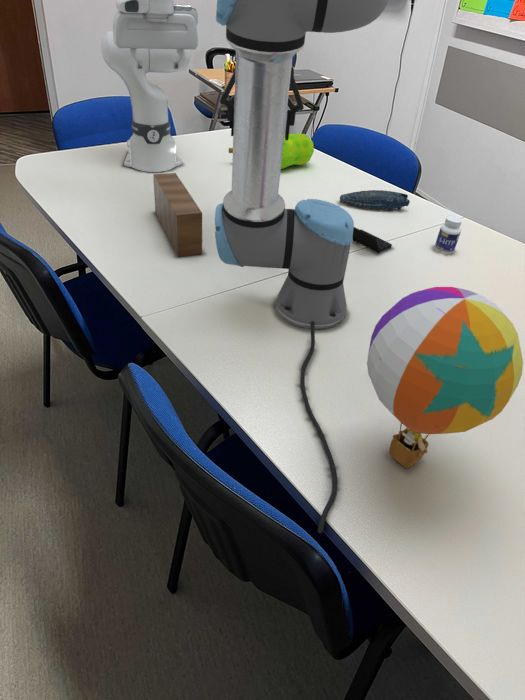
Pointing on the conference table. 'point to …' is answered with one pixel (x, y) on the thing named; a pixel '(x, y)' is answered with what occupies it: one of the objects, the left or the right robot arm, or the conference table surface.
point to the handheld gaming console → (370, 241)
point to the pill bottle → (448, 235)
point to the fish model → (376, 199)
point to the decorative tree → (295, 150)
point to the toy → (442, 365)
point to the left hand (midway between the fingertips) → (157, 68)
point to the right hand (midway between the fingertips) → (259, 136)
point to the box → (178, 214)
